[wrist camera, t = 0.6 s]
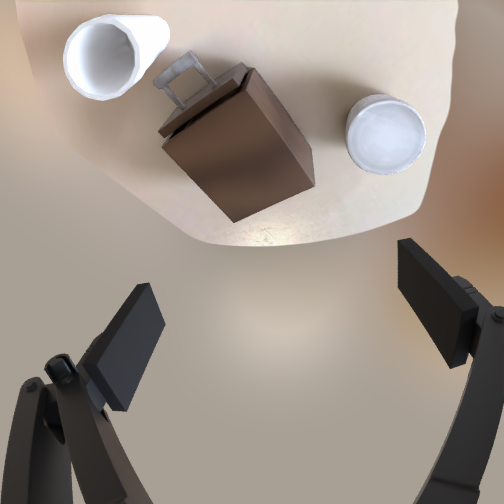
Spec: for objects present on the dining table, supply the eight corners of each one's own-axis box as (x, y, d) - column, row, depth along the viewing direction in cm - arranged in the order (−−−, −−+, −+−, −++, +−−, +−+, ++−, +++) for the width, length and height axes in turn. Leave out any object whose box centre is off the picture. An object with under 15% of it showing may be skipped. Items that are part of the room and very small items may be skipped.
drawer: (152, 81, 37) (129, 101, 32) (217, 31, 31) (201, 41, 26) (233, 172, 48) (225, 204, 42) (298, 138, 42) (299, 167, 37)
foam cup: (143, 78, 37) (98, 115, 29) (105, 35, 32) (49, 61, 23) (195, 39, 33) (159, 62, 24) (154, -9, 27) (103, -1, 19)
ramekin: (406, 79, 33) (419, 92, 30) (419, 147, 41) (430, 165, 37) (329, 98, 38) (334, 112, 34) (351, 163, 45) (357, 183, 41)
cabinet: (182, 115, 42) (161, 147, 35) (254, 67, 36) (245, 89, 29) (242, 183, 50) (233, 223, 44) (311, 148, 44) (315, 186, 38)
